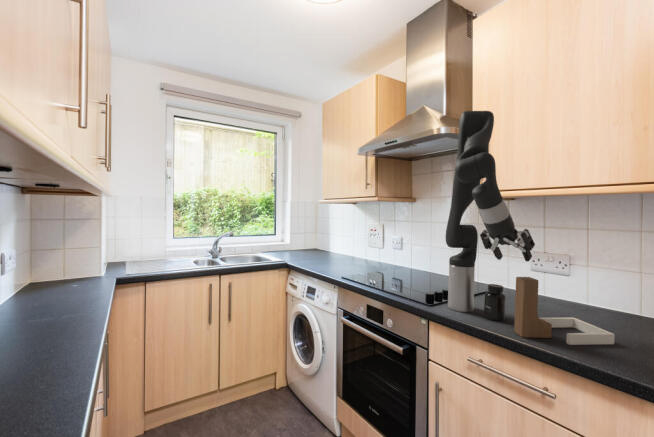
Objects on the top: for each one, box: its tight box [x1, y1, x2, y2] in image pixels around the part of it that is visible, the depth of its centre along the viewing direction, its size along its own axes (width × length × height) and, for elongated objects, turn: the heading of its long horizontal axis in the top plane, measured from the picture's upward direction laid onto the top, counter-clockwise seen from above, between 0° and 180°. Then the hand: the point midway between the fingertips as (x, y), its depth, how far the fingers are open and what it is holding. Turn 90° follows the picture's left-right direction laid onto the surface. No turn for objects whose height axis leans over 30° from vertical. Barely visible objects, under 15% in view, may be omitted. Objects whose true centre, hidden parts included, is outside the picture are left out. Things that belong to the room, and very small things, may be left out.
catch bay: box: [539, 316, 615, 346], centre depth 98 cm, size 14×14×3 cm
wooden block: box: [513, 276, 552, 339], centre depth 97 cm, size 9×4×18 cm, turn 89°
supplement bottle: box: [483, 283, 507, 322], centre depth 112 cm, size 7×7×12 cm
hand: (513, 259), depth 97 cm, fingers open, 8 cm apart
